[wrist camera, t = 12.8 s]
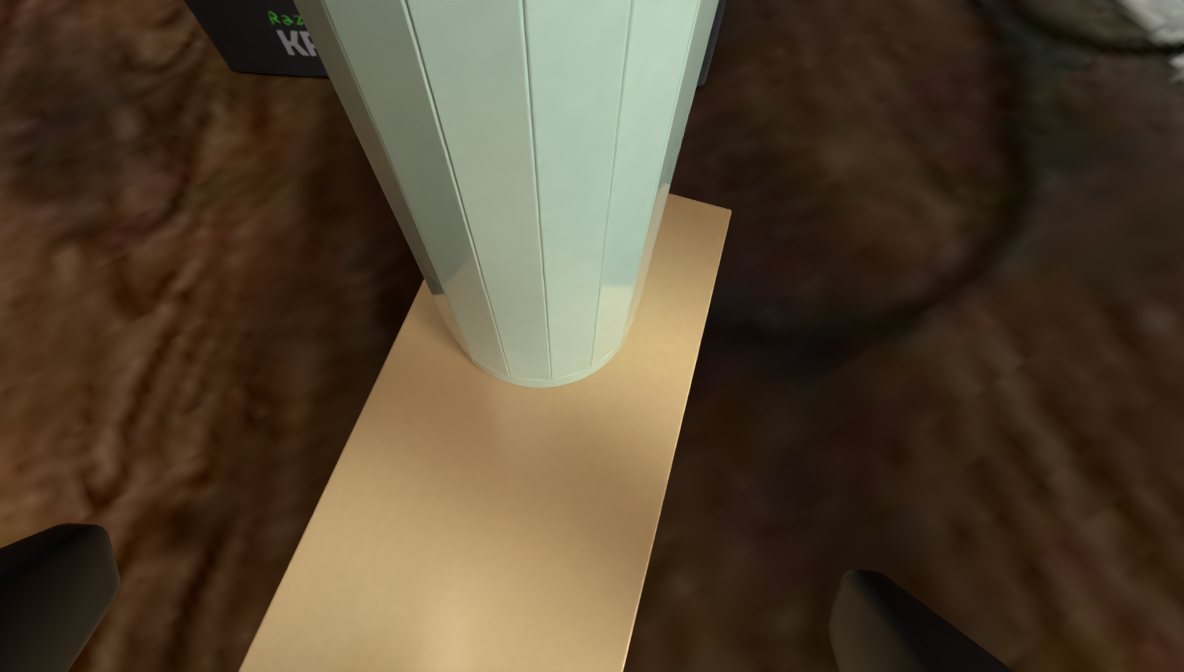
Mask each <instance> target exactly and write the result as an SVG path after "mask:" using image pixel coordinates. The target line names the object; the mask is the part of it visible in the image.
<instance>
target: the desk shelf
mask: <svg viewBox="0 0 1184 672" xmlns="http://www.w3.org/2000/svg"><path fill="white" fill-rule="evenodd" d="M730 216H731V210H729V209H725V208H722V207H718V206H714V205H710V204H707V203H703V202H699V201H695V200H691V199H688V198H684V197H680V196H676V195H672V194H669V193H668V196H667V200H666V204H665V207H664V211H663V215H662V219H661V223H660V226H659V230H658V234H657V238H656V242H655V245H654V249H653V253H652V257H651V261H650V264H649V268H648V272H647V276H646V280H645V284H644V287H643V291H642V295H641V299H640V303H639V306H638V310H637V313H636V315H635V317H634V319H633V322H632V326H631V329H630V331H629V334H628V336H627V338H626V340H625V341H624V343H623V345H622V346H621V348H620V349H619V350H618V352H617V353H616V354H615V355H614V357H613V358H611V359H610V360H609V361H608V362H607V363H606V364H605V365H604V366H603V367H601V368H600V369H598V370H597V371H596V372H594V373H592V374H590V375H589V376H587V377H585V378H583V379H580V380H578V381H575V382H573V383H569V384H565V385H561V386H556V387H547V388H531V387H524V386H518V385H514V384H510V383H507V382H504V381H502V380H499V379H497V378H494V377H493V376H491V375H489V374H487V373H486V372H484V371H483V370H481V369H480V368H479V367H477V366H476V365H475V364H474V363H473V362H472V361H471V360H470V359H469V358H468V357H467V356H466V355H465V354H464V353H463V351H462V350H461V348H460V347H459V346H458V344H457V342H456V340H455V338H454V336H453V335H452V334H451V333H450V331H449V329H448V328H447V325H446V323H445V321H444V319H443V317H442V315H441V313H440V311H439V309H438V306H437V304H436V302H435V300H434V298H433V296H432V294H431V292H430V289H429V287H428V285H427V283H426V281H425V279H424V281H423V283H422V285H421V287H420V289H419V291H418V293H417V295H416V297H415V300H414V302H413V304H412V306H411V308H410V310H409V312H408V314H407V316H406V319H405V321H404V323H403V325H402V327H401V329H400V331H399V333H398V335H397V338H396V340H395V342H394V344H393V346H392V348H391V350H390V352H389V354H388V356H387V359H386V361H385V363H384V365H383V367H382V369H381V371H380V373H379V375H378V378H377V380H376V382H375V384H374V386H373V388H372V390H371V392H370V394H369V397H368V399H367V401H366V403H365V405H364V407H363V409H362V411H361V413H360V416H359V418H358V420H357V422H356V424H355V426H354V428H353V430H352V432H351V434H350V437H349V439H348V441H347V443H346V445H345V447H344V449H343V451H342V453H341V456H340V458H339V460H338V462H337V464H336V466H335V468H334V470H333V472H332V475H331V477H330V479H329V481H328V483H327V485H326V487H325V489H324V491H323V494H322V496H321V498H320V500H319V502H318V504H317V506H316V508H315V510H314V513H313V515H312V517H311V519H310V521H309V523H308V525H307V527H306V529H305V531H304V534H303V536H302V538H301V540H300V542H299V544H298V546H297V548H296V550H295V553H294V555H293V557H292V559H291V561H290V563H289V565H288V567H287V569H286V572H285V574H284V576H283V578H282V580H281V582H280V584H279V586H278V588H277V591H276V593H275V595H274V597H273V599H272V601H271V603H270V605H269V607H268V609H267V612H266V614H265V616H264V618H263V620H262V622H261V624H260V626H259V628H258V631H257V633H256V635H255V637H254V639H253V641H252V643H251V645H250V647H249V650H248V652H247V654H246V656H245V658H244V660H243V662H242V664H241V666H240V669H239V671H238V672H623V669H624V665H625V661H626V657H627V652H628V648H629V644H630V640H631V635H632V631H633V627H634V623H635V619H636V614H637V610H638V606H639V602H640V597H641V593H642V589H643V585H644V580H645V576H646V572H647V568H648V563H649V559H650V555H651V551H652V546H653V542H654V538H655V534H656V530H657V525H658V521H659V517H660V513H661V508H662V504H663V500H664V496H665V491H666V487H667V483H668V479H669V474H670V470H671V466H672V462H673V458H674V453H675V449H676V445H677V441H678V436H679V432H680V428H681V424H682V419H683V415H684V411H685V407H686V402H687V398H688V394H689V390H690V386H691V381H692V377H693V373H694V369H695V364H696V360H697V356H698V352H699V347H700V343H701V339H702V335H703V330H704V326H705V322H706V318H707V314H708V309H709V305H710V301H711V297H712V292H713V288H714V284H715V280H716V275H717V271H718V267H719V263H720V258H721V254H722V250H723V246H724V242H725V237H726V233H727V229H728V225H729V220H730Z"/></svg>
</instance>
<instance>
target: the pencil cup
mask: <svg viewBox="0 0 1184 672" xmlns="http://www.w3.org/2000/svg"><path fill="white" fill-rule="evenodd" d="M293 1H294V4H295V6H296V8H297V10H298V12H299V14H300V16H301V18H302V21H303V23H304V25H305V27H306V29H307V31H308V33H309V35H310V37H311V40H312V42H313V44H314V46H315V48H316V50H317V52H318V54H319V57H320V59H321V61H322V63H323V65H324V67H325V69H326V71H327V73H328V76H329V78H330V80H331V82H332V84H333V86H334V88H335V90H336V93H337V95H338V97H339V99H340V101H341V103H342V105H343V107H344V109H345V112H346V114H347V116H348V118H349V120H350V122H351V124H352V126H353V129H354V131H355V133H356V135H357V137H358V139H359V141H360V143H361V145H362V148H363V150H364V152H365V154H366V156H367V158H368V160H369V162H370V165H371V167H372V169H373V171H374V173H375V175H376V177H377V179H378V181H379V184H380V186H381V188H382V190H383V192H384V194H385V196H386V198H387V201H388V203H389V205H390V207H391V209H392V211H393V213H394V215H395V217H396V220H397V222H398V224H399V226H400V228H401V230H402V232H403V234H404V237H405V239H406V241H407V243H408V245H409V247H410V249H411V251H412V253H413V256H414V258H415V260H416V262H417V264H418V266H419V268H420V270H421V273H422V275H423V277H424V279H425V281H426V283H427V285H428V287H429V289H430V292H431V294H432V296H433V298H434V300H435V302H436V304H437V306H438V309H439V311H440V313H441V315H442V317H443V319H444V321H445V323H446V325H447V328H448V329H449V331H450V333H451V334H452V335H453V336H454V338H455V340H456V342H457V344H458V346H459V347H460V348H461V350H462V351H463V353H464V354H465V355H466V356H467V357H468V358H469V359H470V360H471V361H472V362H473V363H474V364H475V365H476V366H477V367H479V368H480V369H481V370H483V371H484V372H486V373H487V374H489V375H491V376H493V377H494V378H497V379H499V380H502V381H504V382H507V383H510V384H514V385H518V386H524V387H531V388H547V387H556V386H561V385H565V384H569V383H573V382H575V381H578V380H580V379H583V378H585V377H587V376H589V375H590V374H592V373H594V372H596V371H597V370H598V369H600V368H601V367H603V366H604V365H605V364H606V363H607V362H608V361H609V360H610V359H611V358H613V357H614V355H615V354H616V353H617V352H618V350H619V349H620V348H621V346H622V345H623V343H624V341H625V340H626V338H627V336H628V334H629V331H630V329H631V326H632V322H633V319H634V317H635V315H636V313H637V310H638V306H639V303H640V299H641V295H642V291H643V287H644V284H645V280H646V276H647V272H648V268H649V264H650V261H651V257H652V253H653V249H654V245H655V242H656V238H657V234H658V230H659V226H660V223H661V219H662V215H663V211H664V207H665V204H666V200H667V196H668V192H669V188H670V184H671V181H672V177H673V173H674V169H675V165H676V162H677V158H678V154H679V150H680V146H681V143H682V139H683V135H684V131H685V127H686V124H687V120H688V116H689V112H690V108H691V105H692V101H693V97H694V93H695V89H696V85H697V82H698V78H699V74H700V70H701V66H702V63H703V59H704V55H705V51H706V47H707V44H708V40H709V36H710V32H711V28H712V25H713V21H714V17H715V13H716V9H717V6H718V2H719V0H293Z"/></svg>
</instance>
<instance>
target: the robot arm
mask: <svg viewBox="0 0 1184 672" xmlns="http://www.w3.org/2000/svg"><path fill="white" fill-rule="evenodd" d="M119 586H120V575H119V571H118V567H117V564H116V560H115V556H114V553H113V549H112V545H111V541H110V538H109V535H108V532H107V531H106V530H105V529H104V528H103V527H101V526H98V525H92V524H75V523H66V524H60V525H57V526H54V527H51V528H49V529H46V530H44V531H41V532H39V533H37V534H34V535H32V536H29V537H27V538H24V539H22V540H19V541H17V542H14V543H12V544H10V545H7V546H5V547H2V548H0V672H68V671H69V669H70V668H71V666H72V665H73V663H74V662H75V660H76V659H77V657H78V655H79V654H80V652H81V651H82V649H83V648H84V646H85V645H86V643H87V642H88V640H89V639H90V637H91V636H92V634H93V632H94V631H95V629H96V628H97V626H98V625H99V623H100V622H101V620H102V619H103V617H104V616H105V614H106V613H107V611H108V609H109V608H110V606H111V605H112V603H113V602H114V600H115V598H116V596H117V593H118V590H119ZM828 628H829V637H830V641H831V645H832V648H833V652H834V655H835V659H836V663H837V666H838V670H839V672H1014V671H1013V670H1011V669H1010V668H1009V667H1007V666H1006V665H1004V664H1003V663H1002V662H1000V661H999V660H998V659H996V658H995V657H994V656H992V655H991V654H990V653H988V652H987V651H986V650H984V649H983V648H982V647H980V646H979V645H978V644H976V643H975V642H974V641H972V640H971V639H970V638H968V637H967V636H966V635H964V634H963V633H962V632H960V631H959V630H958V629H956V628H955V627H954V626H952V625H951V624H950V623H948V622H947V621H946V620H944V619H943V618H942V617H940V616H939V615H938V614H936V613H935V612H934V611H932V610H931V609H929V608H928V607H927V606H925V605H924V604H923V603H921V602H920V601H919V600H917V599H916V598H915V597H913V596H912V595H911V594H909V593H908V592H907V591H905V590H904V589H903V588H901V587H900V586H899V585H897V584H896V583H895V582H893V581H892V580H891V579H889V578H888V577H887V576H885V575H884V574H882V573H880V572H876V571H865V570H849V571H846V572H845V573H844V574H843V576H842V578H841V580H840V584H839V587H838V590H837V593H836V597H835V600H834V603H833V607H832V610H831V613H830V617H829V624H828Z"/></svg>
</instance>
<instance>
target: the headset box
mask: <svg viewBox="0 0 1184 672" xmlns="http://www.w3.org/2000/svg"><path fill="white" fill-rule="evenodd" d="M184 1H185V3H186V4H187V6H188V7H189V8H190V10H191V11H192V13H193V14H194V16H195V17H196V19H197V20H198V22H199V24H200V25H201V27H202V28H203V30H204V31H205V32H206V34H207V35H208V37H209V38H210V40H211V41H212V43H213V44H214V45H215V47H216V48H217V50H218V51H219V53H220V55H221V56H222V58H223V59H224V60H225V62H226V63H227V65H228V66H229V68H230V69H231V70H232V71H240V72H252V73H269V74H288V75H303V76H325V77H329V76H328V73H327V71H326V69H325V67H324V65H323V63H322V61H321V59H320V57H319V54H318V52H317V50H316V48H315V46H314V44H313V42H312V40H311V37H310V35H309V33H308V31H307V29H306V27H305V25H304V23H303V21H302V18H301V16H300V14H299V12H298V10H297V8H296V6H295V4H294V1H293V0H184ZM726 1H727V0H719V2H718V6H717V9H716V13H715V17H714V21H713V25H712V28H711V32H710V36H709V40H708V44H707V47H706V51H705V55H704V59H703V63H702V66H701V70H700V74H699V78H698V82H697V85H696V86H701V85H703V84H704V83H705V81H706V78H707V74H708V70H709V67H710V64H711V60H712V56H713V52H714V48H715V44H716V41H717V37H718V33H719V29H720V25H721V21H722V17H723V13H724V9H725V5H726Z"/></svg>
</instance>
